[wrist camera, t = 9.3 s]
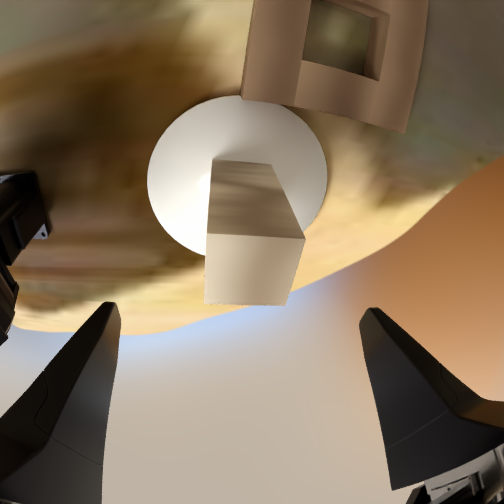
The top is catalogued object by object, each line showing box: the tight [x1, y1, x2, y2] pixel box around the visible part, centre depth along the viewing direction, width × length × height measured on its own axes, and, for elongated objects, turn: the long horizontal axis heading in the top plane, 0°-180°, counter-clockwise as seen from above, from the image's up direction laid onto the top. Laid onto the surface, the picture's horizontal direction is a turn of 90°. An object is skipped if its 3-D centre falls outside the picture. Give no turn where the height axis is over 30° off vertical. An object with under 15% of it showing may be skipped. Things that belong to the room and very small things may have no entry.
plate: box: [147, 95, 327, 255], centre depth 20 cm, size 13×13×1 cm
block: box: [204, 159, 306, 306], centre depth 16 cm, size 4×4×9 cm
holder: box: [240, 0, 429, 134], centre depth 13 cm, size 11×11×2 cm
